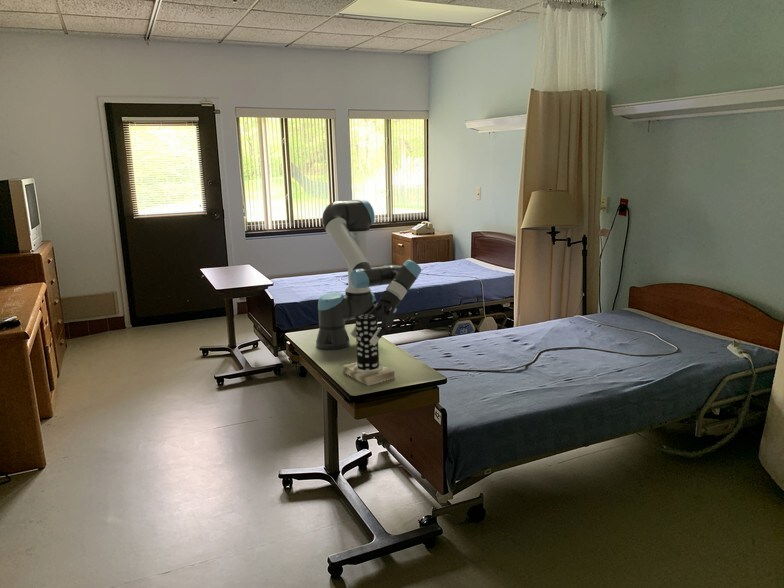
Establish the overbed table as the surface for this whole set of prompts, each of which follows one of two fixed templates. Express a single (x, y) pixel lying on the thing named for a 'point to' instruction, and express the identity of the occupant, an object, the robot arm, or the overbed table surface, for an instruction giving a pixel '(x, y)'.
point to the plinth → (368, 374)
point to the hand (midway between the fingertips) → (361, 339)
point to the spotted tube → (366, 342)
